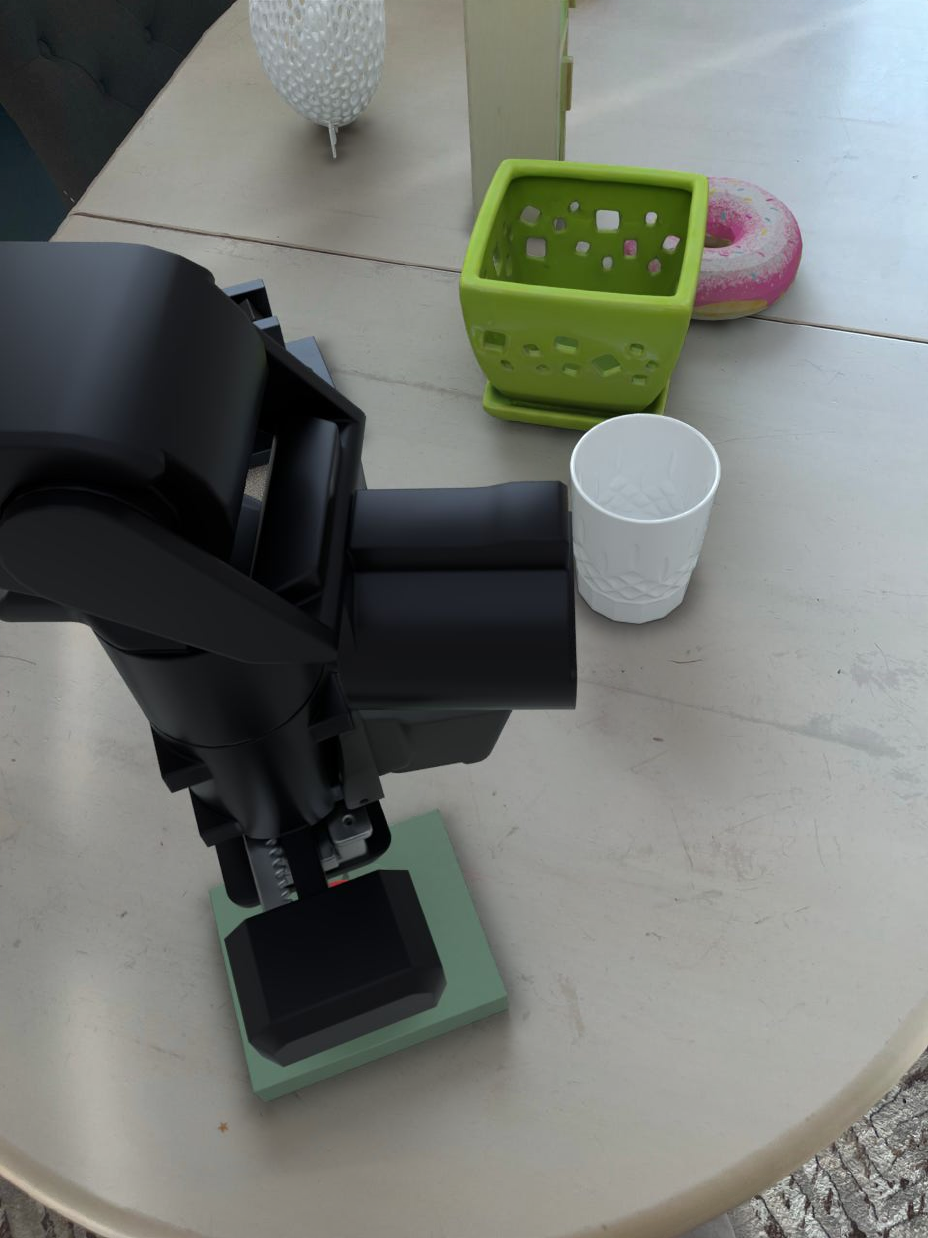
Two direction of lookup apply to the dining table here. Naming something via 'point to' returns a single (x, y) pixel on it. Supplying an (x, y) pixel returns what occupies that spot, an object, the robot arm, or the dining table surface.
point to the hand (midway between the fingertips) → (321, 863)
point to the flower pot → (581, 290)
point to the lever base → (300, 348)
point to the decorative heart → (321, 55)
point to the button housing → (455, 938)
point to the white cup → (640, 513)
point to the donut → (740, 251)
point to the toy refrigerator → (516, 85)
